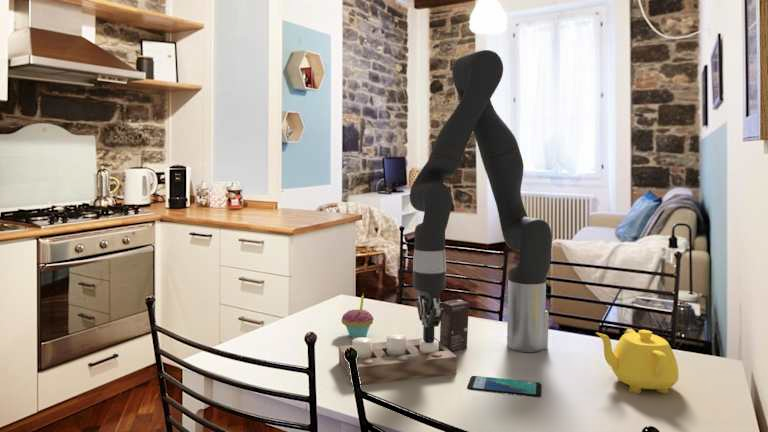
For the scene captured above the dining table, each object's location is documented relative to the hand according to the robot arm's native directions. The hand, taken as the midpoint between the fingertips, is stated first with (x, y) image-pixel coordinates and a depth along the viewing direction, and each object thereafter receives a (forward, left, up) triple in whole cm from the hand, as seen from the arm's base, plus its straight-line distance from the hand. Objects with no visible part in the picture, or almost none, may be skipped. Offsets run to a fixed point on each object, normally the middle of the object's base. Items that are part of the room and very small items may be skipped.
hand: (428, 341), depth 130 cm
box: (-10, -9, -6) cm, 15 cm away
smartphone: (-11, +16, -6) cm, 21 cm away
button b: (+8, 0, -3) cm, 8 cm away
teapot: (-38, +23, -6) cm, 45 cm away
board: (+8, 0, -6) cm, 10 cm away
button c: (+16, 0, -3) cm, 16 cm away
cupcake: (+11, -26, -6) cm, 28 cm away
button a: (0, 0, -4) cm, 4 cm away
